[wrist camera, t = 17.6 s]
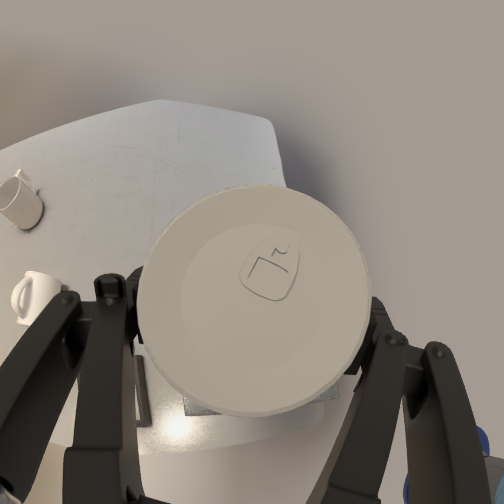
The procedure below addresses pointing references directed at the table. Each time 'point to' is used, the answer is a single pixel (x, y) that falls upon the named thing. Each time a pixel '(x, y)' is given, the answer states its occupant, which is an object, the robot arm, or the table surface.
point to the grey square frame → (140, 392)
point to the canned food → (254, 300)
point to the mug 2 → (33, 295)
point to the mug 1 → (20, 201)
